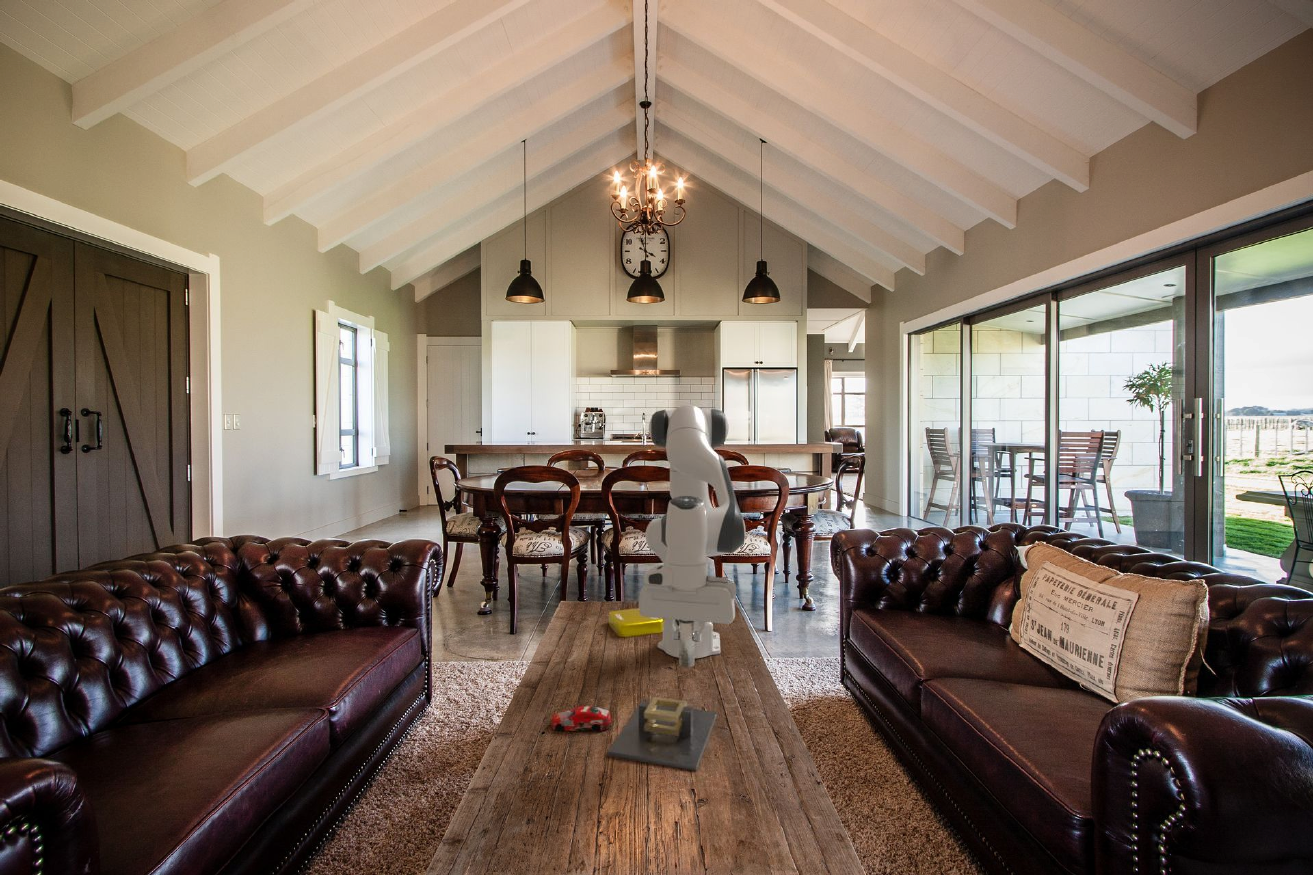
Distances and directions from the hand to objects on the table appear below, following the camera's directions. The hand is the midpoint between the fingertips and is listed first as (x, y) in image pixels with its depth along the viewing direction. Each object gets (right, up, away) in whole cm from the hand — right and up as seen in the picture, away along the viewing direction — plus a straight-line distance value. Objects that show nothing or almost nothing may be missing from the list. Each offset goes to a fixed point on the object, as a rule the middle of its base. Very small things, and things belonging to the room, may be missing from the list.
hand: (686, 639), depth 124 cm
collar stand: (-4, -21, +1) cm, 21 cm away
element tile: (-13, -20, +69) cm, 73 cm away
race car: (-23, -21, +5) cm, 32 cm away
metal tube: (0, -5, 0) cm, 5 cm away
